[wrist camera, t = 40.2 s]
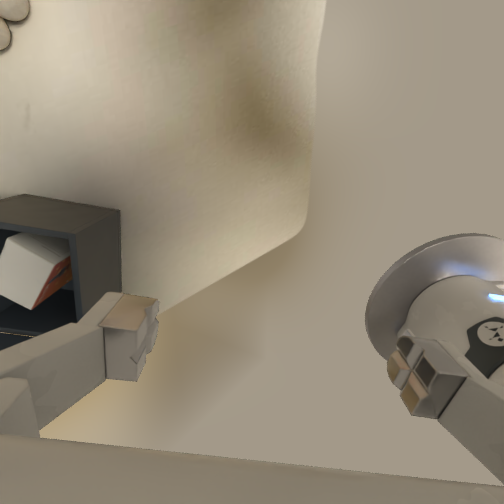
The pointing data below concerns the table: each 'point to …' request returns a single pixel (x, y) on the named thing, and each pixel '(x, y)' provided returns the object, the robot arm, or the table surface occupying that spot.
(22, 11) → the rainbow fanned disc toy
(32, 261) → the small box
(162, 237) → the table surface
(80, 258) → the open box
